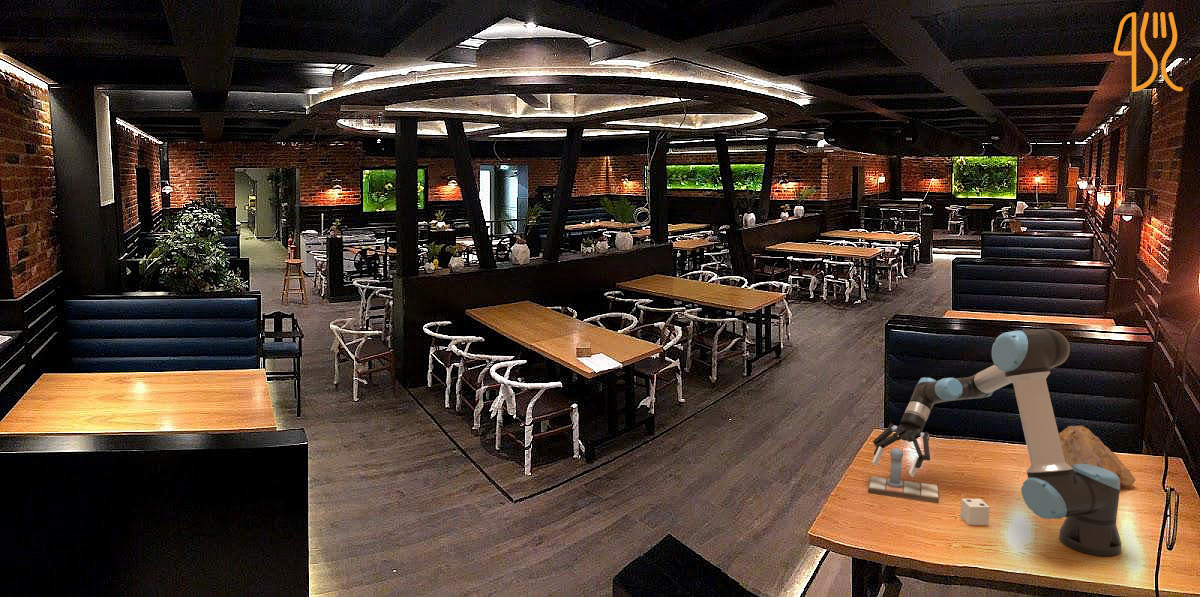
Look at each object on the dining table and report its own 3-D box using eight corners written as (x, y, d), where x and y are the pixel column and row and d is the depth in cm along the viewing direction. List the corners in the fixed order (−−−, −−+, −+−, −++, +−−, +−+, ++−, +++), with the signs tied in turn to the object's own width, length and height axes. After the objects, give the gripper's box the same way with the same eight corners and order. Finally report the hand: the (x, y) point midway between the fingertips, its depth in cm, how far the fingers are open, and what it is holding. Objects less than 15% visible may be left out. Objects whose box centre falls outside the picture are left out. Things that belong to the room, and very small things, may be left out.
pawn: (902, 488, 250) (904, 451, 248) (887, 486, 251) (889, 449, 249) (902, 483, 254) (904, 447, 252) (887, 481, 256) (889, 445, 254)
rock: (1036, 443, 276) (1060, 412, 271) (1072, 455, 280) (1097, 425, 275) (1089, 495, 250) (1117, 462, 244) (1128, 508, 254) (1157, 476, 248)
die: (988, 525, 226) (989, 506, 225) (968, 525, 226) (969, 506, 225) (979, 516, 232) (980, 498, 231) (960, 516, 232) (961, 498, 231)
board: (938, 502, 242) (938, 498, 242) (868, 492, 251) (868, 488, 251) (937, 489, 253) (937, 484, 253) (870, 479, 262) (870, 475, 261)
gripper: (953, 431, 251) (931, 485, 243) (885, 415, 269) (862, 464, 261) (947, 420, 246) (924, 474, 239) (878, 404, 265) (855, 454, 257)
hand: (892, 469), depth 250 cm, fingers open, 12 cm apart
